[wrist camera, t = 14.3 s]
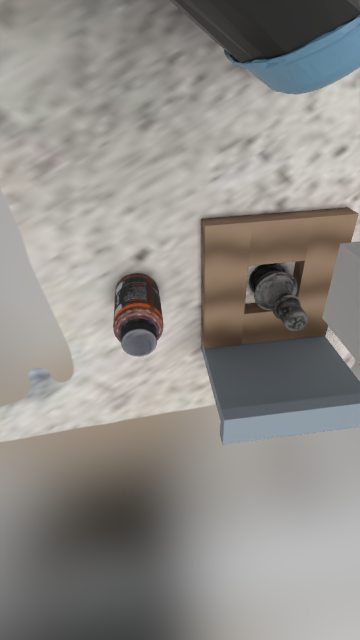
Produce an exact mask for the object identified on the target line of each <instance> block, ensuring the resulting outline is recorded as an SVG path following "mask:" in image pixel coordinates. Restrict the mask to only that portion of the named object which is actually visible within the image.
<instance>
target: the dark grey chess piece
mask: <svg viewBox="0 0 360 640" xmlns="http://www.w3.org/2000/svg"><path fill="white" fill-rule="evenodd" d="M249 285H250V288H251V290H252V291H253V292H254V293H255V295H254V297H255V301H256V303H257V304H258V306H260V307H261V308H263V309H265V310H273V314H274V315H275V316H276V317H277V318H279V319H281V320H282V322H283V324H284V325H285V327H286V328H287V329H289V330H291V331H298V330H303V328H304V327H305V326H306V324H307V321H308V317H307V314H306V313H305V311H304V310H303V309H302V307H301V302H300V300H299V298H298V297H296V296H295V295H296V292H297V282H296V280H295V278H294V277H293V276H292V275H291V274H288V273H285V271H284V269H283V267H282V266H281V265H279V264H277V263H273V264H262V265H260V266H259V267H257V268H256V269H255V270H254V271H253V273H252V274H251V276H250V279H249Z"/></svg>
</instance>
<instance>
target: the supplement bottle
mask: <svg viewBox="0 0 360 640" xmlns="http://www.w3.org/2000/svg"><path fill="white" fill-rule="evenodd" d="M113 328H114V333H115V336H116V337H117V339H118V340H119V341H120V342H121V345H122V348H123V350H124V351H125V352H126V353H128V354H130V355H133V356H144V355H148V354H149V353H151V352H152V351H153V350H154V349H155V347H156V345H157V340H158V339H159V338H160V337H161V335H162V332H163V317H162V310H161V303H160V296H159V290H158V287H157V285H156V283H155V282H154V281H153V280H152V279H150V278H149V277H147V276H145V275H139V274H136V275H130V276H127V277H125V278H124V279H123V280H121V281H120V283H119V284H118V286H117V288H116V294H115V309H114V324H113Z"/></svg>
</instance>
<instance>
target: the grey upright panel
mask: <svg viewBox="0 0 360 640" xmlns="http://www.w3.org/2000/svg"><path fill="white" fill-rule="evenodd" d="M202 352H203V356H204V360H205V364H206V368H207V371H208V375H209V379H210V383H211V386H212V390H213V394H214V398H215V401H216V405H217V409H218V412H219V416H220V420H221V426H220V436H221V440H222V444H223V445H225V444H232V443H240V442H247V441H254V440H263V439H270V438H279V437H286V436H294V435H302V434H309V433H317V432H325V431H332V430H340V429H348V428H356V427H360V381H359V380H358V379H357V378H356V376H355V375H354V374H353V372H352V371H351V370H350V368H349V367H348V366H347V364H346V363H345V362H344V361H343V359H342V358H341V357H340V355H339V354H338V353H337V351H336V350H335V349H334V348H333V346H332V345H331V344H330V342H329V341H328V340H327V338H326V337H325V336H320V337H311V338H302V339H292V340H283V341H274V342H264V343H255V344H246V345H236V346H227V347H218V348H209V349H204V346H203V342H202Z"/></svg>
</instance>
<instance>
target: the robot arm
mask: <svg viewBox="0 0 360 640" xmlns="http://www.w3.org/2000/svg"><path fill="white" fill-rule="evenodd" d="M170 1H171V2H172V3H173V4H175V5H176V6H177V7H178V8H179V9H180V10H181V11H182V12H183V13H185V14H186V15H187V16H188V17H189V18H190V19H191V20H192V21H194V22H195V23H196V24H197V25H198V26H199V27H200V28H201V29H202V30H204V31H205V32H206V33H207V34H208V35H209V36H210V37H211V38H212V39H214V40H215V41H216V42H217V43H218V44H219V45H220V46H221V47H223V48H224V52H225V55H226V56H227V58H228V59H229V60H230V61H231V62H232V63H233V64H235V65H237V66H240V67H242V68H244V69H247V70H249V71H250V72H251V73H252V74H253V75H255V76H256V77H257V78H258V79H260V80H261V81H262V82H263V83H265V84H266V85H267V86H268V87H270V88H271V89H273V90H275V91H277V92H283V93H287V94H303V93H308V92H311V91H315V90H318V89H320V88H323V87H325V86H328V85H330V84H332V83H334V82H336V81H338V80H340V79H341V78H343V77H345V76H346V75H348V74H350V73H351V72H353V71H355V70H356V69H358V68H359V67H360V0H170ZM322 318H323V320H324V321H325V322H326V323H327V325H328V326H329V327H330V328H331V330H332V331H333V332H334V333H335V335H336V336H337V337H338V338H339V339H340V341H341V342H342V343H343V344H344V346H345V347H346V348H347V349H348V351H349V352H350V353H351V354H352V356H353V357H354V358H355V359H356V361H357V362H358V363H359V364H360V242H351V243H341V244H340V247H339V251H338V255H337V259H336V264H335V268H334V272H333V276H332V280H331V284H330V288H329V292H328V296H327V301H326V305H325V309H324V313H323V317H322Z"/></svg>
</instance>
